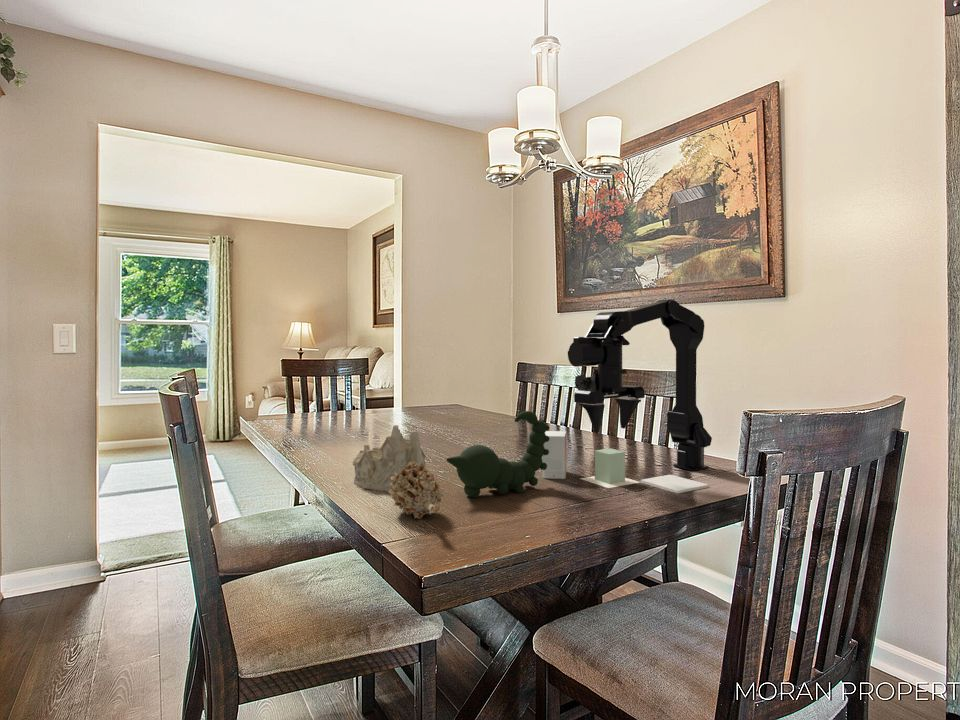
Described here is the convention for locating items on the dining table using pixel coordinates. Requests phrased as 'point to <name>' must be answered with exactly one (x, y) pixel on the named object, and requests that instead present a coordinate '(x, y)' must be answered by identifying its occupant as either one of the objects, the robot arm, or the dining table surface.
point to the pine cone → (416, 490)
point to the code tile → (626, 482)
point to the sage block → (609, 466)
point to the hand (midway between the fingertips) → (610, 430)
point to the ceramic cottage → (387, 460)
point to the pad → (674, 483)
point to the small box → (555, 455)
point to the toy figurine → (503, 463)
